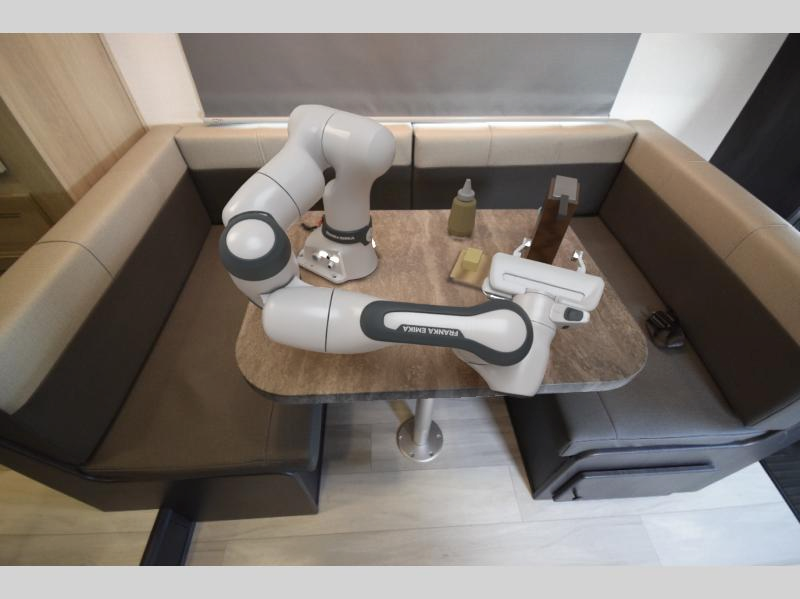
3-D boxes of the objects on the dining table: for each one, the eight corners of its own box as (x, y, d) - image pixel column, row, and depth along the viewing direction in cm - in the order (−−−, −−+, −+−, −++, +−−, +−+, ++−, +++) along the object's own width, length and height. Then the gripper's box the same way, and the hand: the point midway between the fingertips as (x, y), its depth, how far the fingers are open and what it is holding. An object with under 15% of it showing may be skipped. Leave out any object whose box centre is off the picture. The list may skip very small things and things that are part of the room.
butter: (461, 268, 95) (463, 259, 93) (466, 255, 99) (468, 247, 97) (475, 272, 94) (477, 263, 92) (480, 259, 98) (482, 250, 96)
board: (448, 280, 93) (449, 276, 92) (461, 252, 102) (462, 248, 101) (509, 297, 90) (510, 293, 88) (517, 267, 98) (518, 262, 97)
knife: (547, 218, 68) (550, 211, 67) (555, 178, 80) (557, 172, 79) (572, 223, 67) (575, 216, 66) (576, 182, 79) (578, 175, 78)
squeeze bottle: (471, 244, 105) (483, 188, 92) (444, 240, 106) (452, 185, 93) (473, 229, 110) (484, 174, 98) (447, 225, 111) (455, 171, 99)
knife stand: (511, 288, 92) (542, 199, 73) (518, 261, 100) (548, 174, 81) (542, 297, 90) (582, 207, 71) (547, 269, 98) (584, 181, 79)
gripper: (478, 300, 70) (497, 239, 73) (586, 331, 65) (602, 264, 68) (479, 291, 64) (500, 225, 67) (598, 324, 59) (615, 251, 62)
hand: (552, 245), depth 67 cm, fingers open, 8 cm apart
